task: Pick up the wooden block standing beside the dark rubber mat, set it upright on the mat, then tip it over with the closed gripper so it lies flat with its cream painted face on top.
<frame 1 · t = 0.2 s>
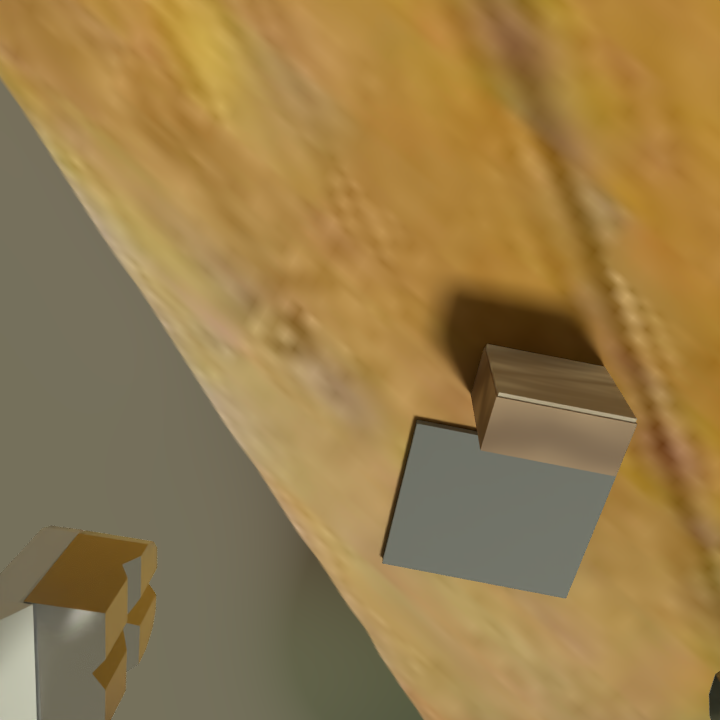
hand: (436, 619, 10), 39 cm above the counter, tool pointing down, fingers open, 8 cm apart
rubber mat: (494, 511, 55), on the counter
wooden block: (536, 382, 50), on the counter
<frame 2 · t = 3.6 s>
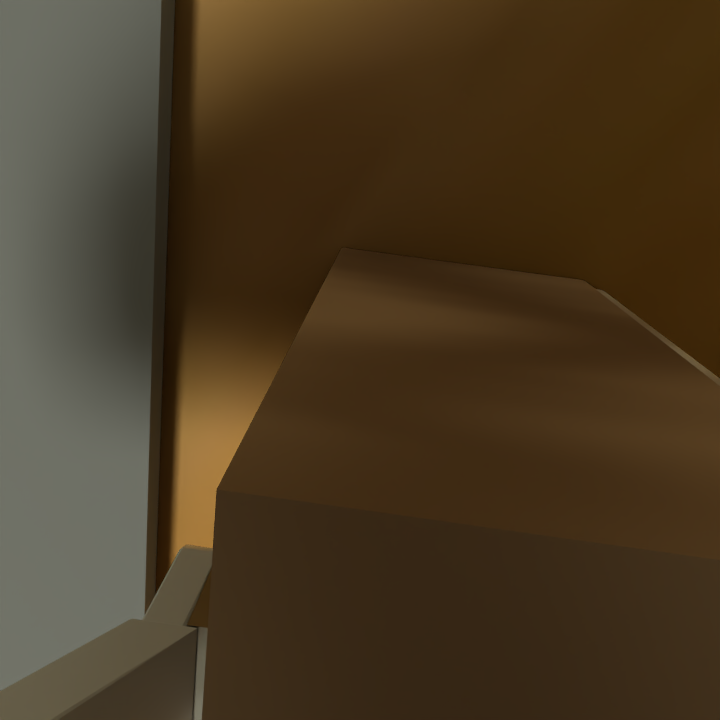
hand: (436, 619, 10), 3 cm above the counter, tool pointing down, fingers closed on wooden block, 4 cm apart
wooden block: (420, 503, 12), on the counter, touching gripper
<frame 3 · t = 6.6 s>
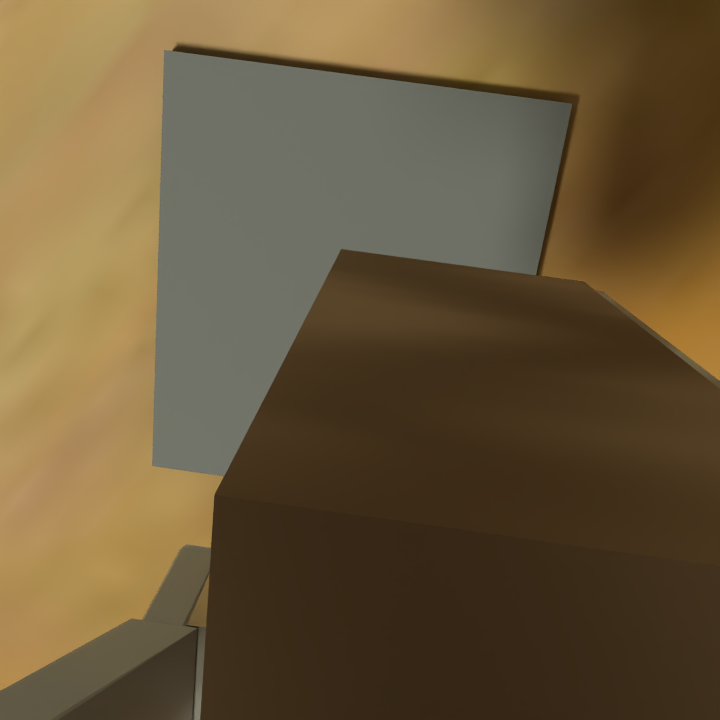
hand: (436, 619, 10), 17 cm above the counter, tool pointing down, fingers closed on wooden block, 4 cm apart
rubber mat: (341, 300, 26), on the counter
wooden block: (420, 504, 12), point 14 cm above the counter, touching gripper
when the fingers open (5 cm above the counter, at t = 9.7 s): wooden block stays where it is, resting on rubber mat.
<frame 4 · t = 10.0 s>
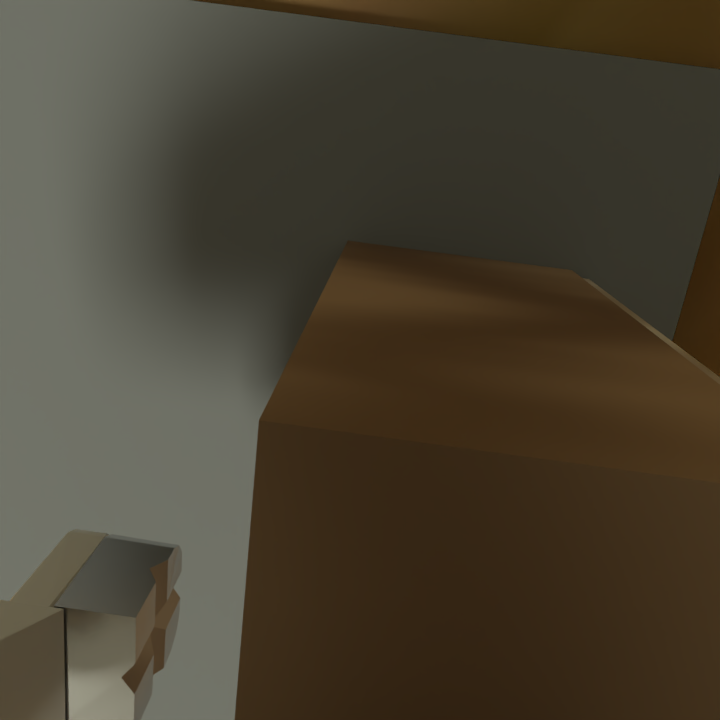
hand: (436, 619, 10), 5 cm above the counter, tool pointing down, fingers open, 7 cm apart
rubber mat: (279, 446, 14), on the counter
wooden block: (421, 479, 13), point 1 cm above the counter, touching rubber mat
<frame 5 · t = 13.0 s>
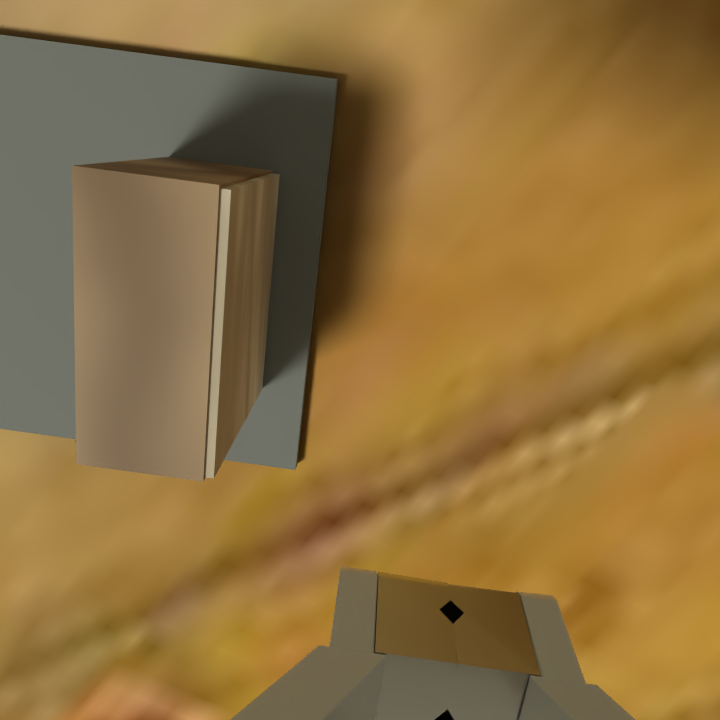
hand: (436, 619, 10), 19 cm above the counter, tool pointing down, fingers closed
rubber mat: (147, 266, 28), on the counter
wooden block: (214, 279, 27), point 1 cm above the counter, touching rubber mat
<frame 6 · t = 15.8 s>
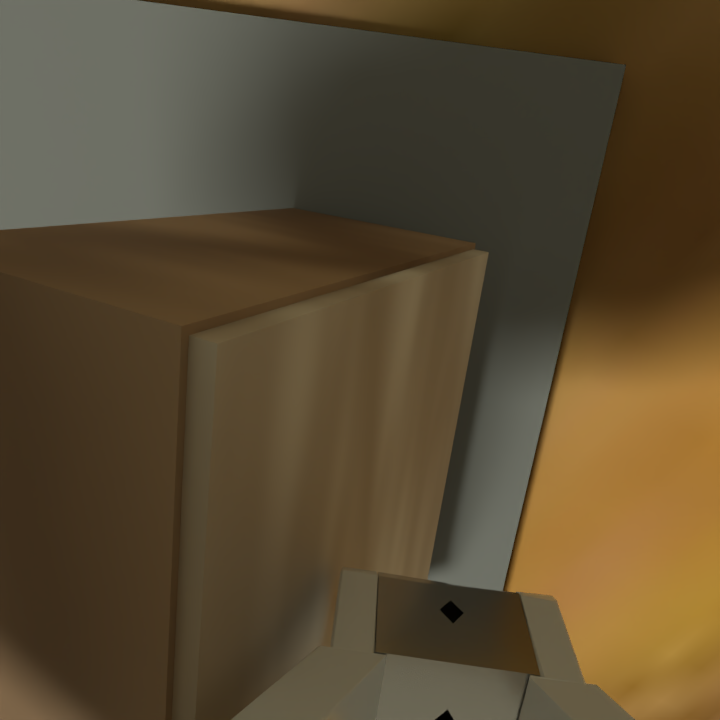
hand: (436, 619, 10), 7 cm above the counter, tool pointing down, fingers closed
rubber mat: (240, 390, 16), on the counter
wooden block: (351, 431, 15), point 1 cm above the counter, tilted 23°, touching rubber mat
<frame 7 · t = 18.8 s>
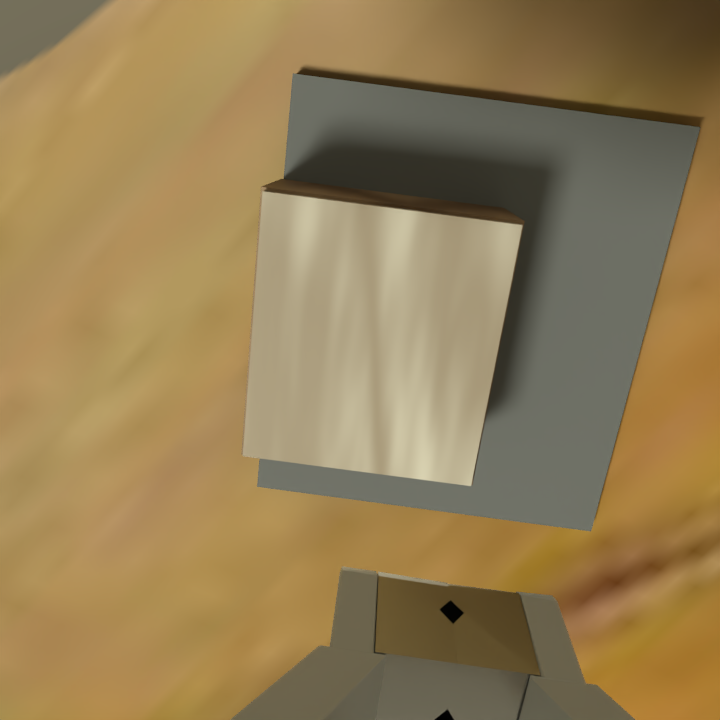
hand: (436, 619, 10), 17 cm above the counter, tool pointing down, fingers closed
rubber mat: (455, 320, 26), on the counter
wooden block: (488, 343, 24), point 3 cm above the counter, tilted 90°, touching rubber mat
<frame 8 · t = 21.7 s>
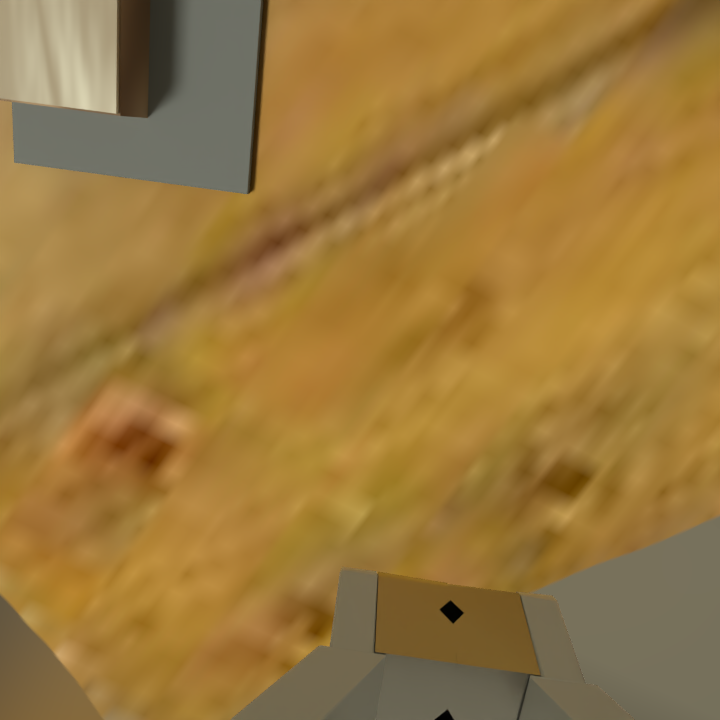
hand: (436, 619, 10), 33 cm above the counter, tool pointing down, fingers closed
rubber mat: (136, 31, 38), on the counter
wooden block: (136, 26, 35), point 3 cm above the counter, tilted 90°, touching rubber mat
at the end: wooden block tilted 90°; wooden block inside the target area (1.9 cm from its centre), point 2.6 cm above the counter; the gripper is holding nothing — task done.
